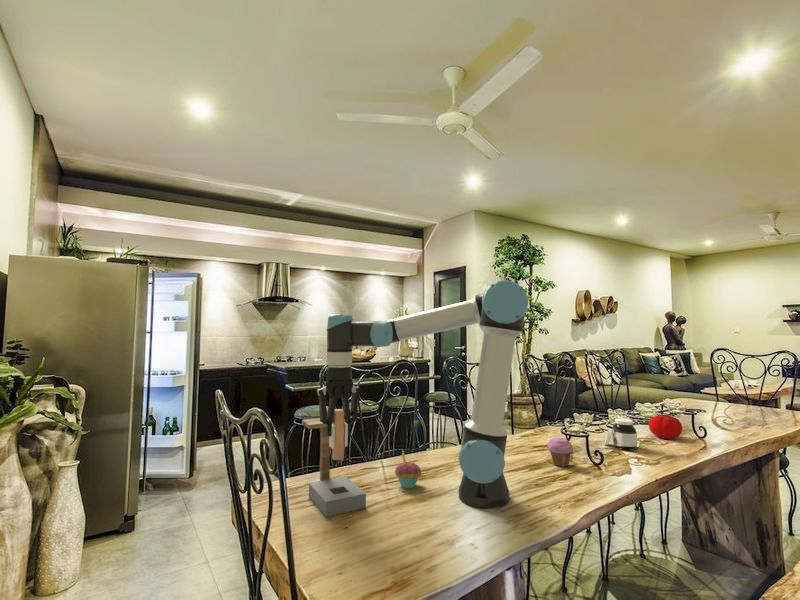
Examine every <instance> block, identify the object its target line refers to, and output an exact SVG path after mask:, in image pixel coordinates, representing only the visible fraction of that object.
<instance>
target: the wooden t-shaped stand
mask: <svg viewBox="0 0 800 600" xmlns="http://www.w3.org/2000/svg"><path fill="white" fill-rule="evenodd" d="M326 418H327V416H326ZM344 422H345V419H344ZM301 424H302V425H303V426H304V427H306V428H307V429H308V430H312V429H319V430H320V434H319V437H320V438H319V440H320V441H319V444H320V445H319V446H320V447H319V481H323V480H328V479H331V477H330V472H331V469H330V468H331V467H330V464H331V463H330V462H331V461H330V459H331V458H330V456H331V454H330V453H331V452H330V451H331V449H330V448H331V447H330V446H329V436H327V435H326V424H323V423H322V422H320V417H318V418H310V419H309V418H308V419H301ZM332 424H333V423H332ZM352 424H353V422H352V423H351V425H352Z"/></svg>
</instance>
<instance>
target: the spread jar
mask: <svg viewBox="0 0 800 600" xmlns="http://www.w3.org/2000/svg"><path fill="white" fill-rule="evenodd" d="M611 439H612V442H613V445H614V447H615V446H616V447H615V448H617V447H618V448H617V449H619V448H622V449H621V450H623V449H633V450H636V448H637V447H638V433H637V430H636V427H635V426H634V421H633V420H632V419H629V418H615V419H614V424H613V426H612V430H611V429H608V431H607V433H606V436H605V440H604V443H603V444H604V445H605V446H607V445H608V446H609V443H610V442H611Z"/></svg>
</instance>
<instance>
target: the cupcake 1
mask: <svg viewBox="0 0 800 600" xmlns="http://www.w3.org/2000/svg"><path fill="white" fill-rule="evenodd" d="M401 454H402V460H403V463H400V464H398V465H397V466H396V467H395V471H394V475H395V476H396V477H397V478H398V481H399V484H400V487H401V488H404V489H413V488H415V487H416V484H417V480H418V478H419V477H421V476H422V469H421V468H420V466H419V465H418V464H416V463H415V462H407V461H406V456H405V451H404V449H403V448H402V450H401Z"/></svg>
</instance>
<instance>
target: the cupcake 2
mask: <svg viewBox="0 0 800 600" xmlns="http://www.w3.org/2000/svg"><path fill="white" fill-rule="evenodd" d="M547 449H548V451H549V454H550V456H551V459H552V463H553V465H554V466H558V467H562V468H563V467H566V466H569V465H570V462H571V454H572V453H573V451H574V447H573V444H572V443H571V442H570V441H569V440H567V439H566V438H564V437H553V438H550V439H549V441H548V442H547Z"/></svg>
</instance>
